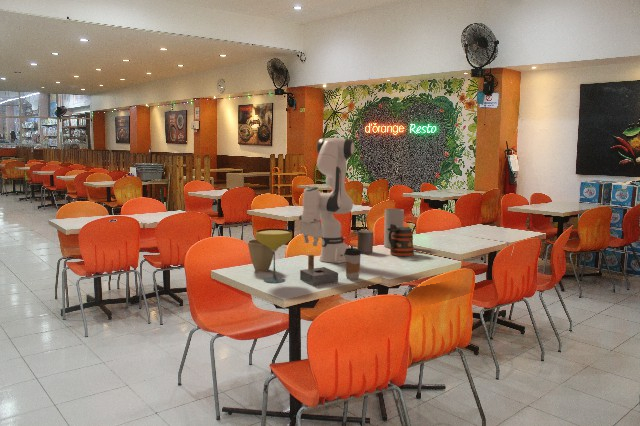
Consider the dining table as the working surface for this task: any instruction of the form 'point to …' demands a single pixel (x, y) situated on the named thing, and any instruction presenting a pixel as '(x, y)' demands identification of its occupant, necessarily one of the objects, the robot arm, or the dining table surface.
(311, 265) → the walnut pin
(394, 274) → the dining table surface
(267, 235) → the cocktail glass
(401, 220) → the cylinder vase
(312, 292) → the dining table surface
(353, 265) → the coffee cup
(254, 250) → the plant pot
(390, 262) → the dining table surface
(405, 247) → the beer stein
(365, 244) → the pillar candle
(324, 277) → the nut block
